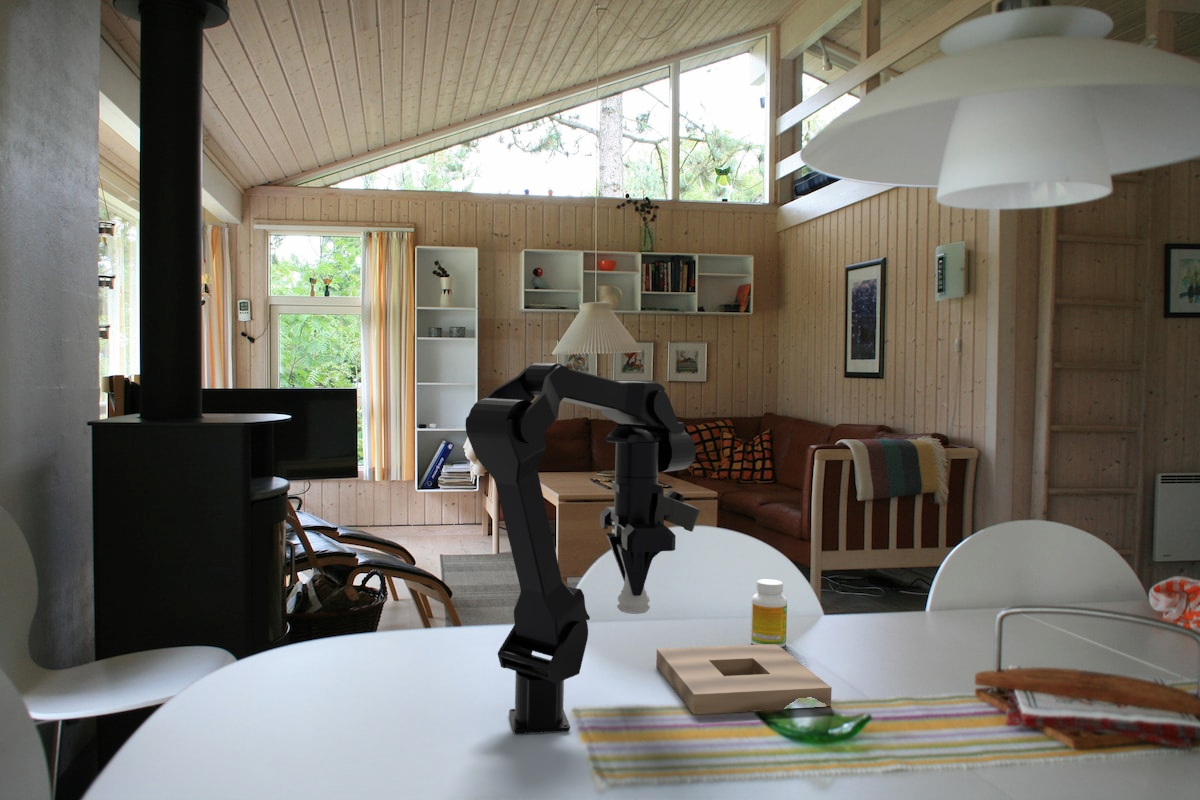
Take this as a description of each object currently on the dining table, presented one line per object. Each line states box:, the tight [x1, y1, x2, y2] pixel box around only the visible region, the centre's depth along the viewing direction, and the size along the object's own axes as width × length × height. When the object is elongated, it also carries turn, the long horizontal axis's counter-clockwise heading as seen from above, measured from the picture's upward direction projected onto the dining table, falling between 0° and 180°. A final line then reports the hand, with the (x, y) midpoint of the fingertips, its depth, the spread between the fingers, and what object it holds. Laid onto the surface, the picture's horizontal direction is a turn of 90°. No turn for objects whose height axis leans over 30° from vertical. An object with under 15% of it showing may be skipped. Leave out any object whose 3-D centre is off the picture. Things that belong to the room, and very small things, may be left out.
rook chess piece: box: [616, 569, 651, 615], centre depth 119 cm, size 4×4×8 cm
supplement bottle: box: [750, 578, 788, 648], centre depth 138 cm, size 5×5×10 cm
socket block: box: [655, 644, 833, 716], centre depth 119 cm, size 18×18×2 cm
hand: (633, 591), depth 119 cm, fingers closed on rook chess piece, 3 cm apart
